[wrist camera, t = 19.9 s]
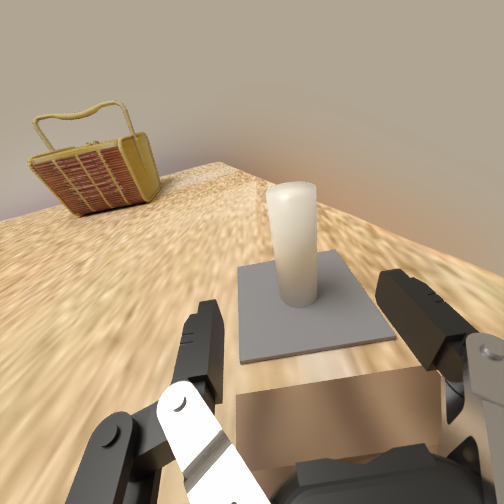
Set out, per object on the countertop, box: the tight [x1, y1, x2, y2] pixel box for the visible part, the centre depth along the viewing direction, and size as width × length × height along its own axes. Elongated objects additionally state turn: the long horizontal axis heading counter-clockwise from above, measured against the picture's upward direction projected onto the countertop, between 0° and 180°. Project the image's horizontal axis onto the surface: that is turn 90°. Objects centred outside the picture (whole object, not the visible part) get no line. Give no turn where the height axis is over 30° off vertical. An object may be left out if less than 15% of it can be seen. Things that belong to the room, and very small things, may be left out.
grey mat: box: [238, 250, 396, 364], centre depth 29 cm, size 16×16×1 cm
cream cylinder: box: [266, 181, 317, 308], centre depth 25 cm, size 5×5×14 cm
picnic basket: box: [27, 100, 161, 216], centre depth 75 cm, size 29×26×30 cm
